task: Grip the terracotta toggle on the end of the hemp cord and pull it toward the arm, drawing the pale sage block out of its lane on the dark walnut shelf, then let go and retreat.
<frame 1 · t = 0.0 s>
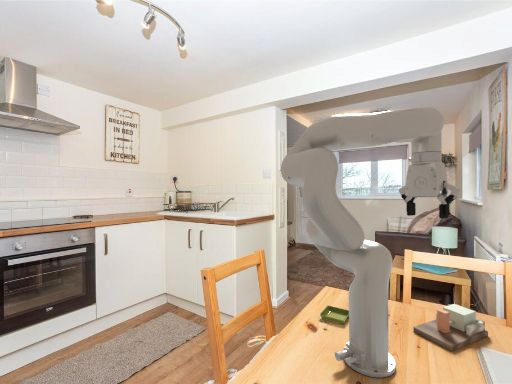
hand: (426, 216, 77), 37 cm above the table, tool pointing down, fingers open, 9 cm apart
sage block: (453, 317, 80), point 5 cm above the table, slide at 0.0 cm
green tray: (335, 319, 91), on the table
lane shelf: (450, 333, 80), on the table
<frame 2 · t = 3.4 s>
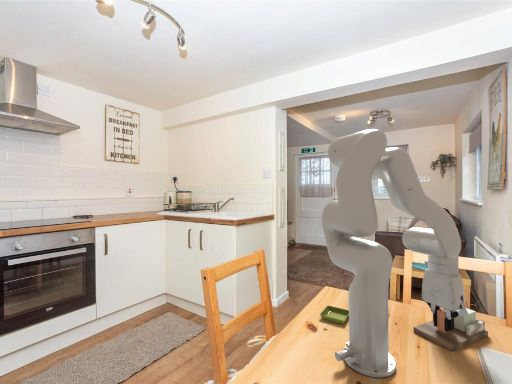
hand: (443, 327, 78), 3 cm above the table, tool pointing down, fingers closed on sage block, 2 cm apart
sage block: (453, 317, 80), point 5 cm above the table, slide at 0.0 cm, touching gripper
everything else where it was.
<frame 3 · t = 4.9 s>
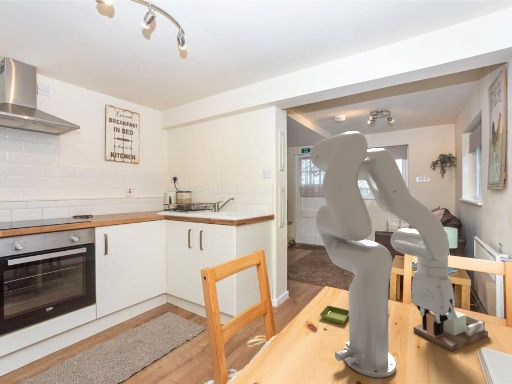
hand: (432, 331, 76), 3 cm above the table, tool pointing down, fingers closed on sage block, 2 cm apart
sage block: (443, 320, 78), point 5 cm above the table, slide at 5.0 cm, touching gripper
everything else where it was.
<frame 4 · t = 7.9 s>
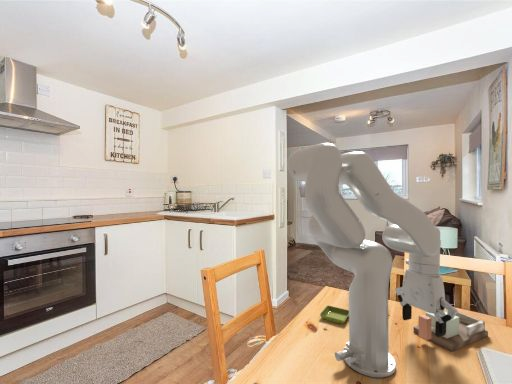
hand: (422, 327, 74), 5 cm above the table, tool pointing down, fingers open, 9 cm apart
sage block: (435, 323, 77), point 5 cm above the table, slide at 8.5 cm
everything else where it was.
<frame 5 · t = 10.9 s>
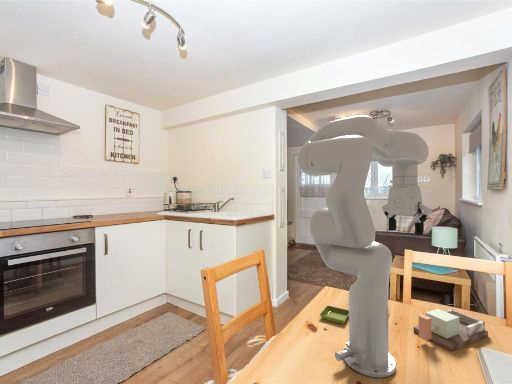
hand: (405, 232, 88), 30 cm above the table, tool pointing down, fingers open, 9 cm apart
nothing on the table moved.
at the end: sage block slide at 8.5 cm; the gripper is holding nothing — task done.
